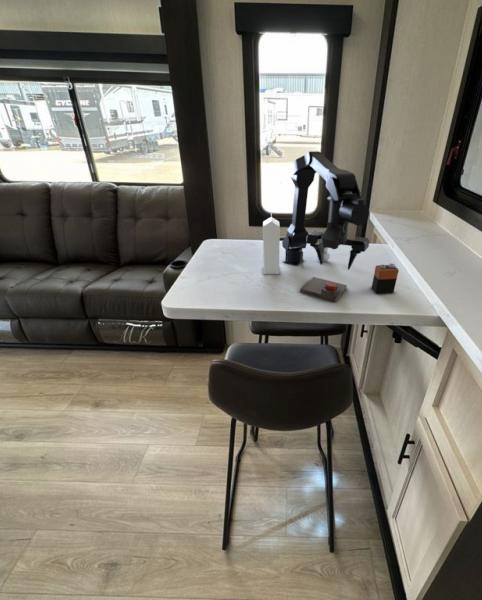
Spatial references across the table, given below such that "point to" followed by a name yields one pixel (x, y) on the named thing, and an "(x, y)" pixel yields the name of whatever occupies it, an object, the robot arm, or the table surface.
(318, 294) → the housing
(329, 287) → the button
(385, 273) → the battery
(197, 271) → the table surface
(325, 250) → the white bunny figurine
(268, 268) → the milk
